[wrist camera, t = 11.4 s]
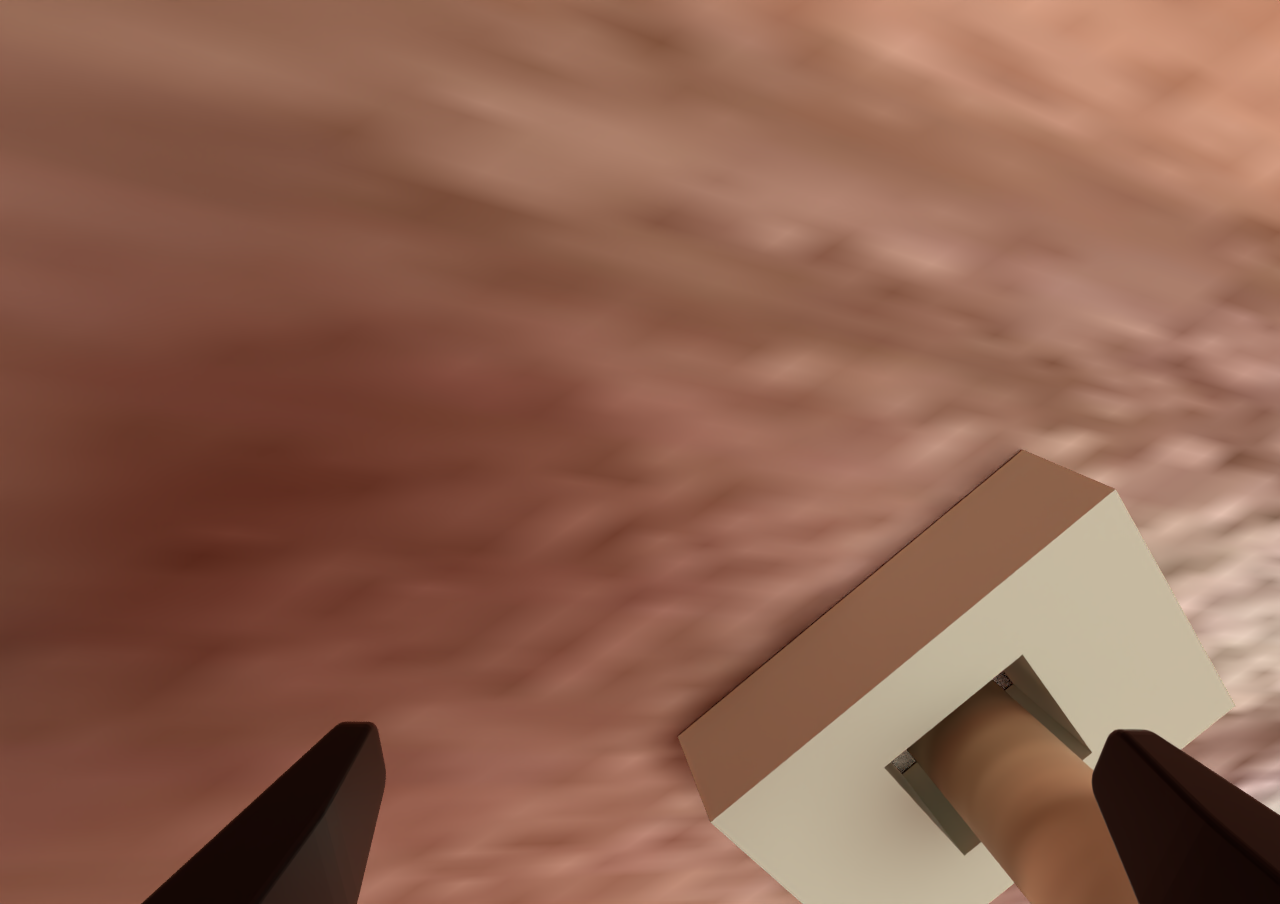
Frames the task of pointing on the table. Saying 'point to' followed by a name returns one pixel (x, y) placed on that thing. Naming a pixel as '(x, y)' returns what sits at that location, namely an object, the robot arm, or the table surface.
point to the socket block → (949, 688)
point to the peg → (1025, 800)
